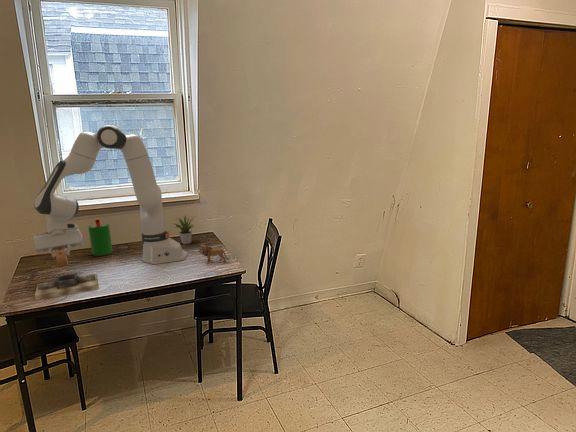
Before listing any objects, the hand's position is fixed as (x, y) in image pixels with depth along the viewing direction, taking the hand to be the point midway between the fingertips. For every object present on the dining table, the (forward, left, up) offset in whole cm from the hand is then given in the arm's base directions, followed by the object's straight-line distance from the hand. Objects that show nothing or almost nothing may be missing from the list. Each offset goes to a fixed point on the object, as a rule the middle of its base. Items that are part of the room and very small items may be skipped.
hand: (61, 256), depth 195 cm
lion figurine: (-69, -4, -11) cm, 70 cm away
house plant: (-54, -42, -11) cm, 69 cm away
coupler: (0, -1, -5) cm, 5 cm away
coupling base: (-5, +13, -11) cm, 18 cm away
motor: (-9, -34, -11) cm, 37 cm away
